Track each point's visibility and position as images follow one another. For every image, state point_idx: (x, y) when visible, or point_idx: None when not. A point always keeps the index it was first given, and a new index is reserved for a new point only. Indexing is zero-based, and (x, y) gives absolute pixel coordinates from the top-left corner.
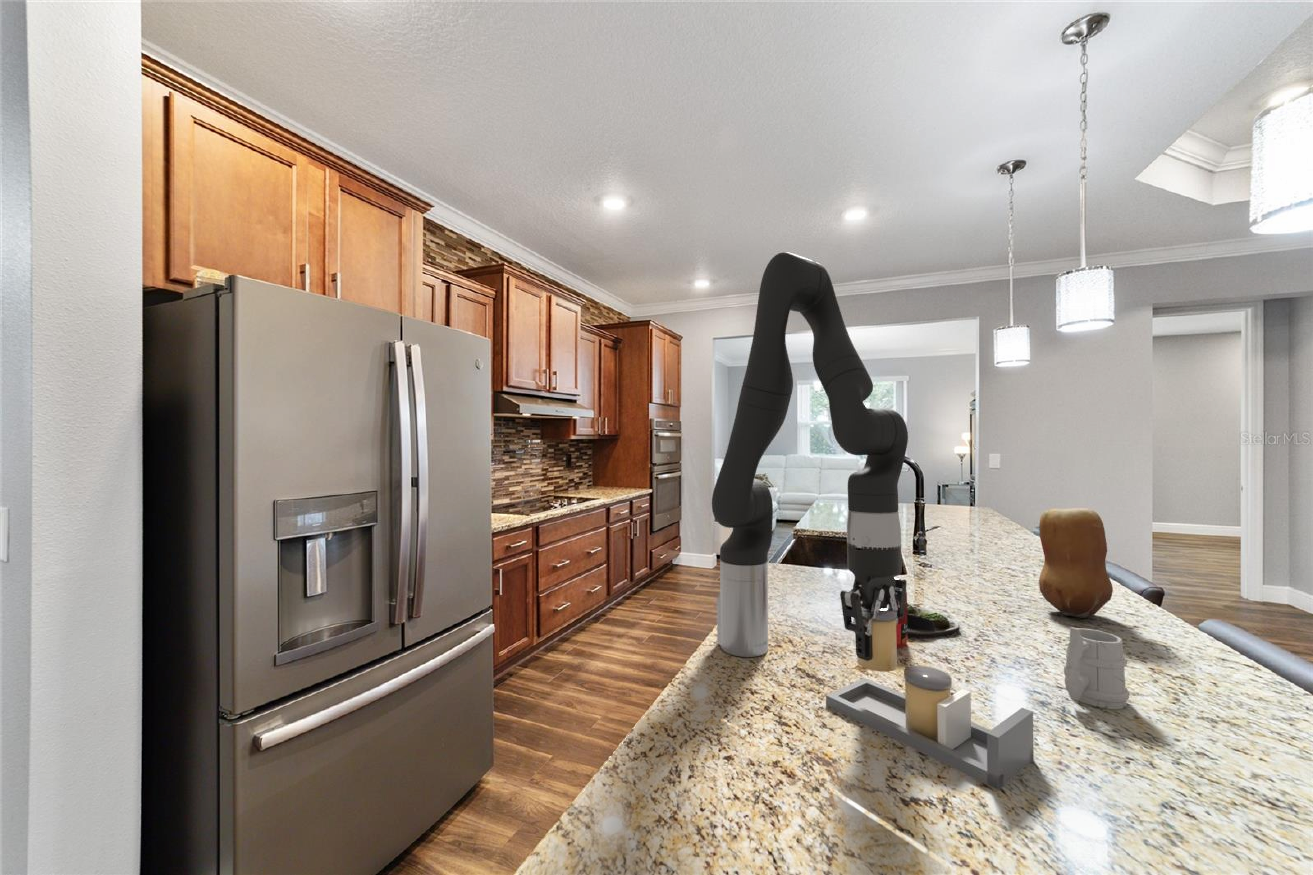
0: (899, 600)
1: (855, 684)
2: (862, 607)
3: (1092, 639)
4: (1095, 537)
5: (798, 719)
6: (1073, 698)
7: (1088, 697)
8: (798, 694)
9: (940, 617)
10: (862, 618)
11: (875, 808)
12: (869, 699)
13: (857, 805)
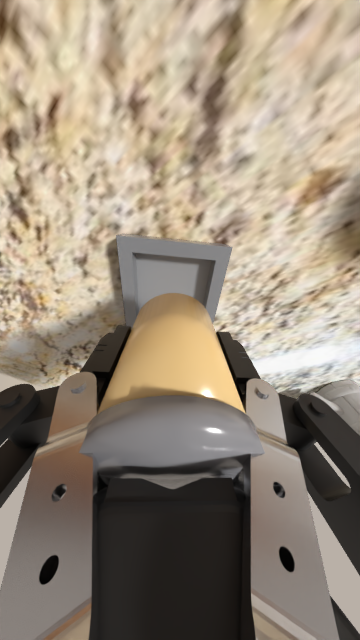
0: (328, 513)
1: (194, 250)
2: (156, 452)
3: None
4: None
5: (53, 222)
6: (310, 394)
7: (321, 396)
8: (114, 154)
9: None
10: (9, 490)
11: (37, 355)
12: (191, 272)
13: (24, 347)
